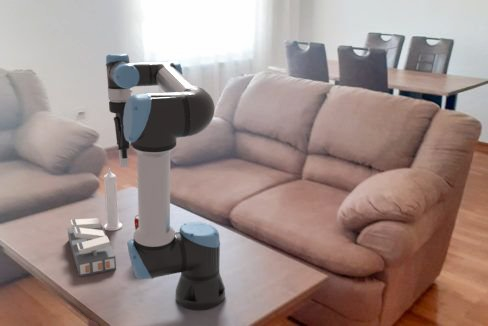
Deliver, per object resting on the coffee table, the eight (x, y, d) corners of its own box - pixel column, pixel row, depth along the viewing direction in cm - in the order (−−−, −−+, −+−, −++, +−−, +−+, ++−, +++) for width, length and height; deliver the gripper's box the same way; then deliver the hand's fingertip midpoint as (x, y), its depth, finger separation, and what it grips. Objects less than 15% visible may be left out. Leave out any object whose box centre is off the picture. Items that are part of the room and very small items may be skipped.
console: (116, 270, 166) (115, 252, 164) (79, 277, 161) (77, 259, 159) (101, 234, 190) (100, 219, 188) (68, 240, 185) (67, 224, 183)
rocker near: (110, 245, 166) (109, 241, 165) (79, 254, 162) (78, 249, 161) (107, 239, 170) (106, 235, 169) (77, 247, 166) (76, 243, 165)
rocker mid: (104, 240, 174) (105, 235, 173) (75, 237, 169) (76, 232, 169) (101, 234, 178) (102, 230, 178) (73, 231, 173) (74, 226, 173)
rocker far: (100, 227, 181) (100, 223, 181) (72, 229, 177) (72, 224, 176) (98, 222, 186) (98, 217, 185) (70, 223, 181) (70, 219, 181)
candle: (126, 226, 198) (122, 167, 190) (112, 232, 192) (108, 172, 184) (113, 221, 201) (109, 163, 194) (100, 228, 196) (95, 168, 188)
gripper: (136, 102, 164) (139, 170, 171) (126, 96, 175) (130, 160, 182) (113, 104, 161) (118, 172, 168) (104, 98, 172) (109, 162, 179)
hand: (124, 166), depth 175 cm, fingers closed
